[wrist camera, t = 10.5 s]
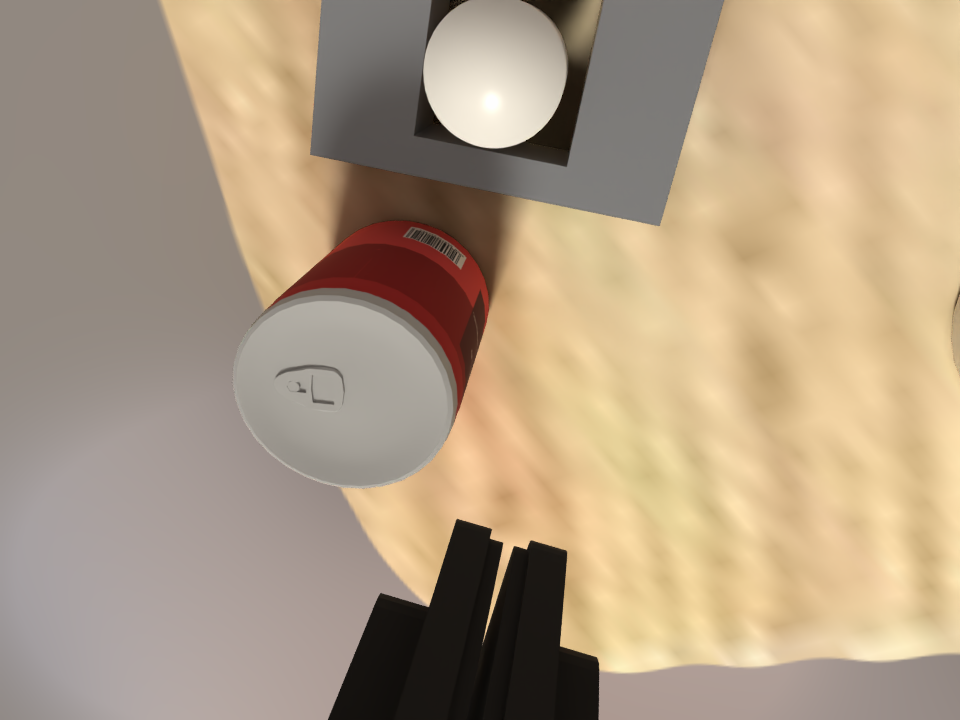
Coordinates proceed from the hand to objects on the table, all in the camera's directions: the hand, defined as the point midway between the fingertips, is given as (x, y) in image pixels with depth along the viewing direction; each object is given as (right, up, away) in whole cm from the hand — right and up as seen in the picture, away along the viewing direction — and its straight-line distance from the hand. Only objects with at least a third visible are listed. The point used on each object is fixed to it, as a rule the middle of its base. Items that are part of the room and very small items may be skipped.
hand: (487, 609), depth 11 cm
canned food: (-3, +7, +25) cm, 26 cm away
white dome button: (+1, +15, +17) cm, 23 cm away
